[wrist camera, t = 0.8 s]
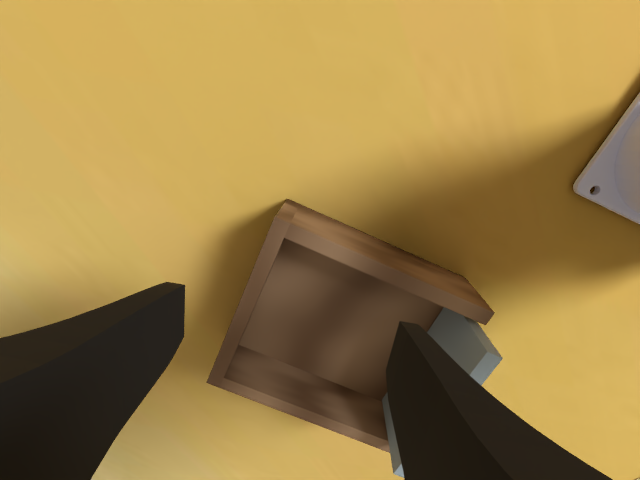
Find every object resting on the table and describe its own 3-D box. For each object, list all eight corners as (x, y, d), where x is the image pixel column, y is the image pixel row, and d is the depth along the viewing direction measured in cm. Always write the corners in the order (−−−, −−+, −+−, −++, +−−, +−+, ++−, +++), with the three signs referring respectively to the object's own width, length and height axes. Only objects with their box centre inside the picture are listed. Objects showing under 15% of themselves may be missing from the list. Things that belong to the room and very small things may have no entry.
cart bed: (465, 278, 20) (494, 312, 16) (382, 401, 24) (391, 453, 20) (287, 198, 19) (274, 216, 15) (228, 339, 23) (206, 382, 19)
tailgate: (462, 301, 19) (502, 358, 15) (392, 403, 22) (406, 478, 17) (450, 296, 19) (487, 351, 15) (381, 399, 22) (393, 473, 17)
